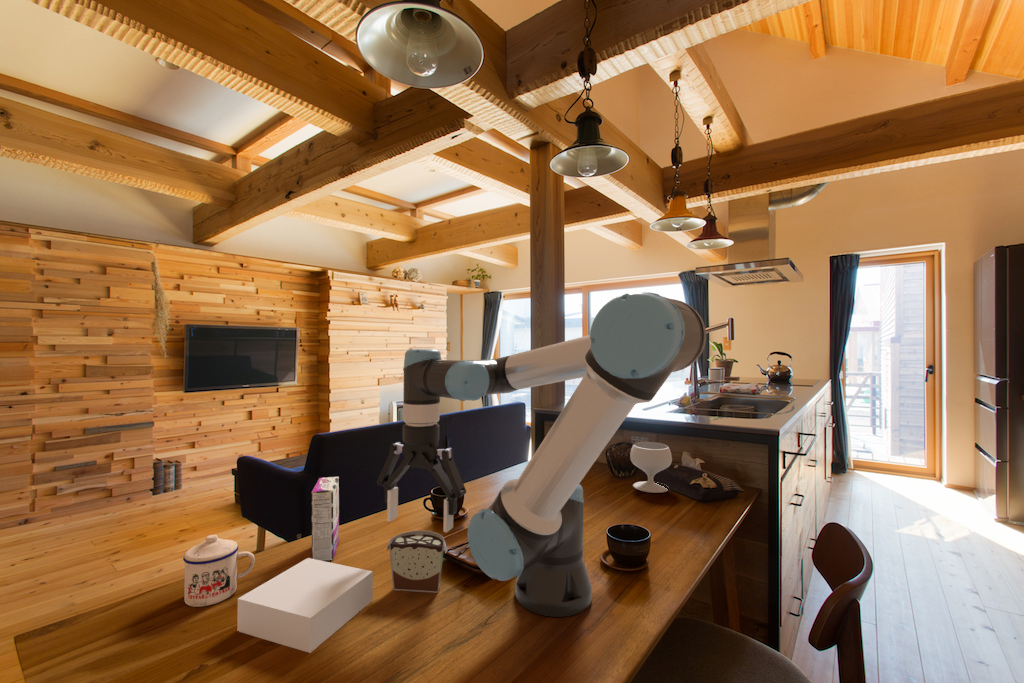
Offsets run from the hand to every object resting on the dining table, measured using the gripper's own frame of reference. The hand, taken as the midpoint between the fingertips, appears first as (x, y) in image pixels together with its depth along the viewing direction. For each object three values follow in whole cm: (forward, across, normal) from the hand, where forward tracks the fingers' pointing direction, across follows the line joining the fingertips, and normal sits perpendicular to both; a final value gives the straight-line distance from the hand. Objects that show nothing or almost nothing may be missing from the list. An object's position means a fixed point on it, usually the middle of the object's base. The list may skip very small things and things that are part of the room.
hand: (419, 524), depth 95 cm
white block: (+13, +12, +17) cm, 25 cm away
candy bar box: (+13, +28, -4) cm, 31 cm away
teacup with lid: (+13, +34, +18) cm, 41 cm away
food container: (+12, 0, 0) cm, 12 cm away
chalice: (+12, -40, -84) cm, 94 cm away
